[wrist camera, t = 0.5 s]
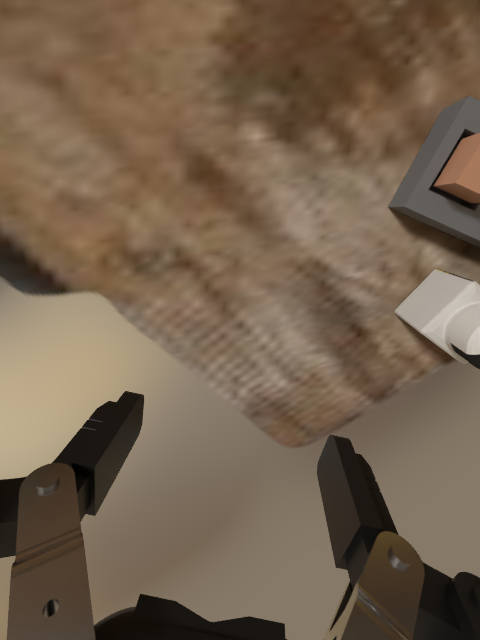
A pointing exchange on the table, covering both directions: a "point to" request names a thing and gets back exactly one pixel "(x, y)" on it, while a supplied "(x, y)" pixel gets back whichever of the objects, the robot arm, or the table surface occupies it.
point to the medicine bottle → (446, 314)
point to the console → (418, 185)
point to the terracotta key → (463, 171)
